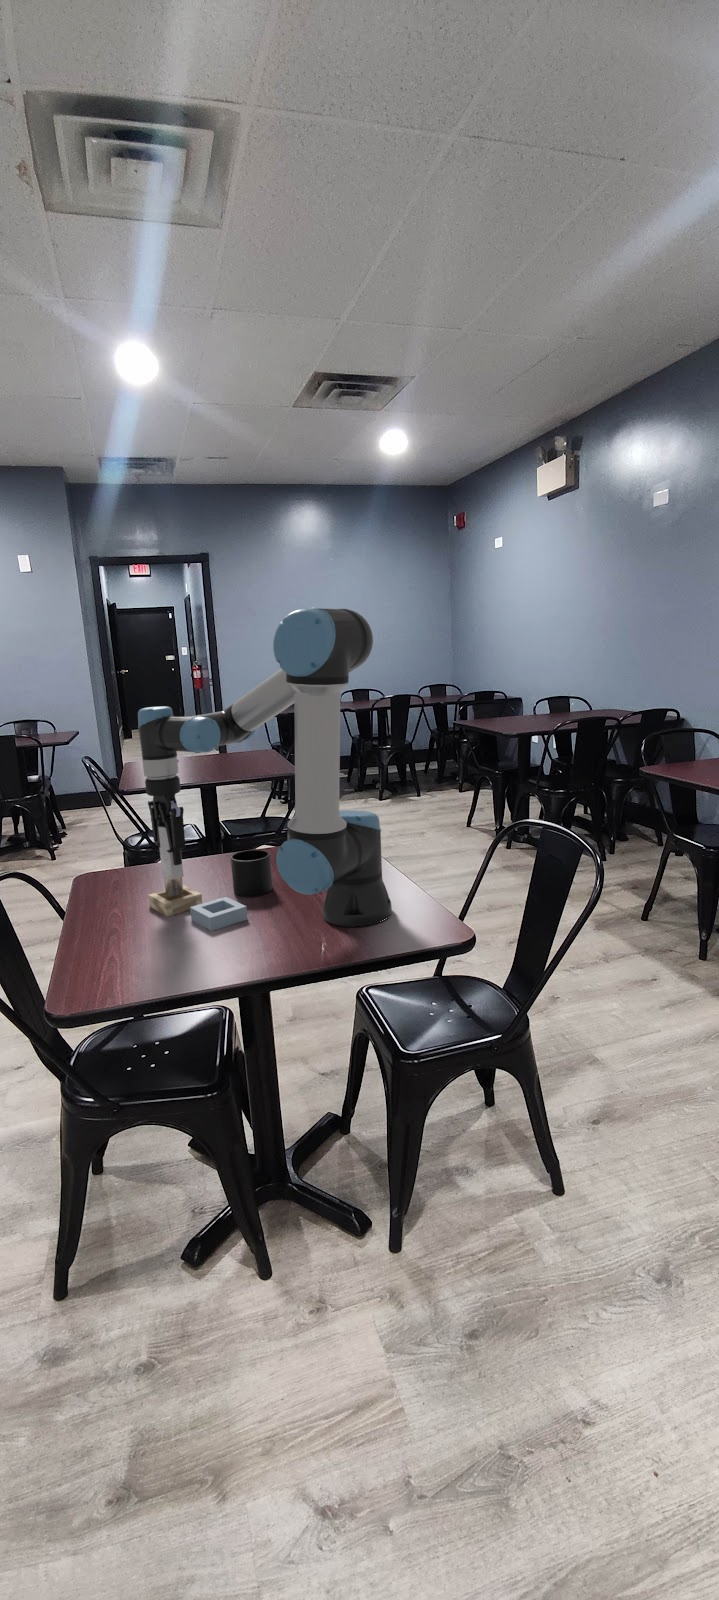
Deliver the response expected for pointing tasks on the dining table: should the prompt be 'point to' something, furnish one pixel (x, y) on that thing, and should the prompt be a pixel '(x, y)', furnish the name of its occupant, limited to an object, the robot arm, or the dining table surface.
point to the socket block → (218, 913)
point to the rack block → (175, 901)
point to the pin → (168, 866)
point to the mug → (251, 873)
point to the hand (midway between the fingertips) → (172, 875)
